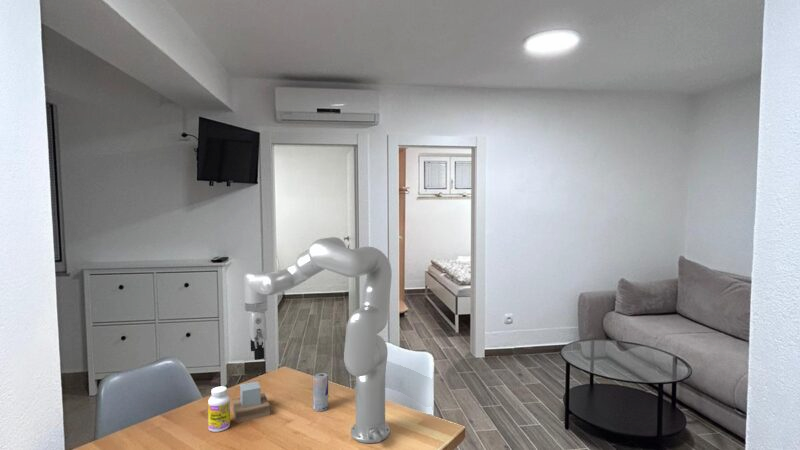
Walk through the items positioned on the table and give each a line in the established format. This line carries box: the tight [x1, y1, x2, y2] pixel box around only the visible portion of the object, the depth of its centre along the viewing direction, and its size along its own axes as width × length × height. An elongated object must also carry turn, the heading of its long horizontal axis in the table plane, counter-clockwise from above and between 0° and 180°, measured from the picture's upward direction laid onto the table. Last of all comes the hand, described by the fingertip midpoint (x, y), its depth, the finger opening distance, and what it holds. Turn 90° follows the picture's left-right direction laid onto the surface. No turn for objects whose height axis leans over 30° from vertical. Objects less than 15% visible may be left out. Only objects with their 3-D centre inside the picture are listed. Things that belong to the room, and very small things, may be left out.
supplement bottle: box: [207, 385, 231, 433], centre depth 136 cm, size 7×7×13 cm
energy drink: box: [312, 372, 329, 413], centre depth 149 cm, size 5×5×12 cm
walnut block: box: [232, 392, 271, 424], centre depth 146 cm, size 11×11×4 cm
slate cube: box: [239, 381, 262, 408], centre depth 146 cm, size 6×6×6 cm
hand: (257, 354), depth 146 cm, fingers open, 9 cm apart
